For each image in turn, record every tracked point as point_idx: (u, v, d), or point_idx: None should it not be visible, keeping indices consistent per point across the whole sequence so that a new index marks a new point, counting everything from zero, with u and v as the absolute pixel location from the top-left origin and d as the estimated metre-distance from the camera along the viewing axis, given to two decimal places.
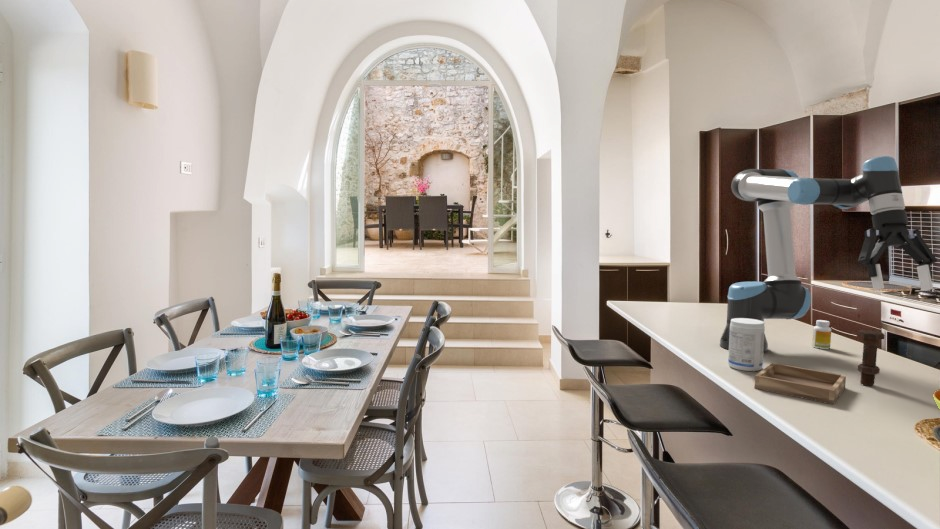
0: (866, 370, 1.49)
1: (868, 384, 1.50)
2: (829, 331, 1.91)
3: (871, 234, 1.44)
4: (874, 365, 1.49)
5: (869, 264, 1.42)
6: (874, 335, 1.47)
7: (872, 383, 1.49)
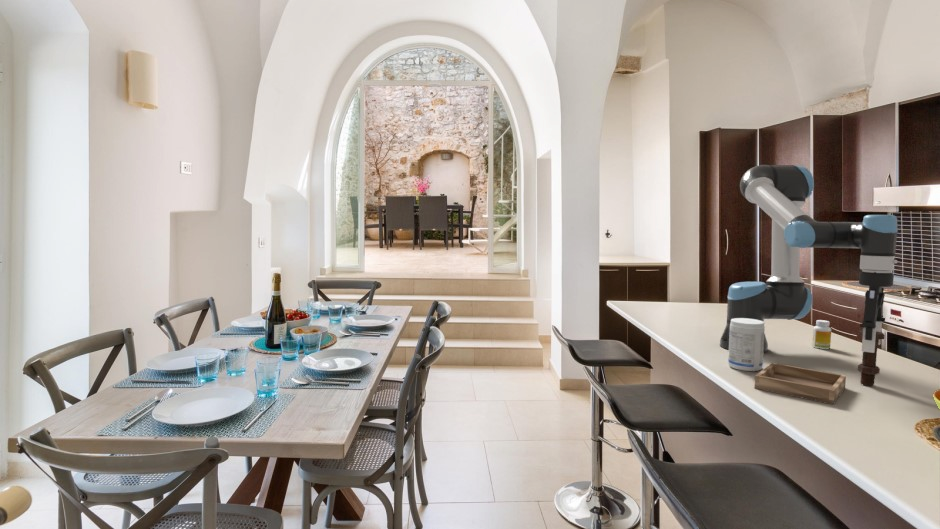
0: (866, 370, 1.49)
1: (868, 384, 1.50)
2: (829, 331, 1.91)
3: (876, 297, 1.43)
4: (874, 365, 1.49)
5: (870, 328, 1.43)
6: None
7: (872, 383, 1.49)
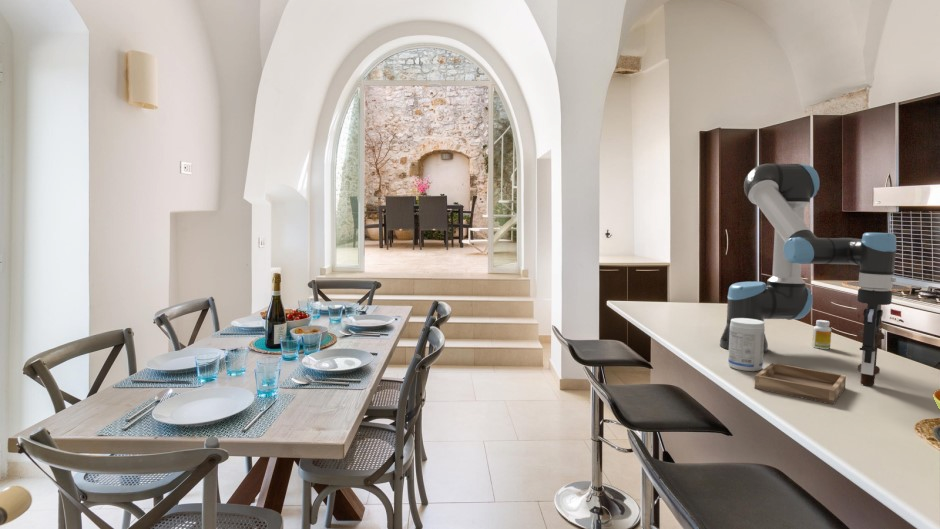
0: None
1: (868, 384, 1.50)
2: (829, 331, 1.91)
3: (874, 322, 1.44)
4: (874, 365, 1.49)
5: (869, 351, 1.47)
6: None
7: (872, 383, 1.49)
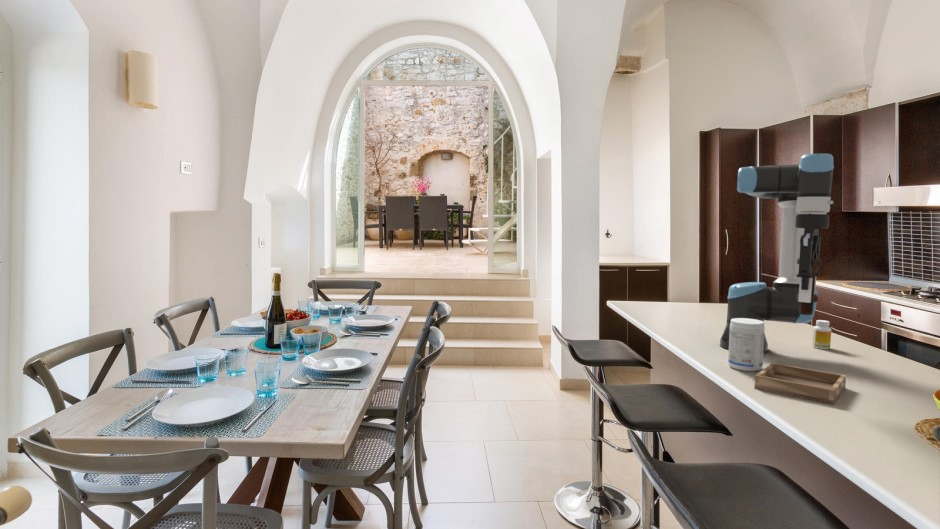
0: None
1: (806, 313, 1.44)
2: (829, 331, 1.91)
3: (809, 245, 1.38)
4: (812, 293, 1.43)
5: (806, 277, 1.41)
6: None
7: (810, 312, 1.44)
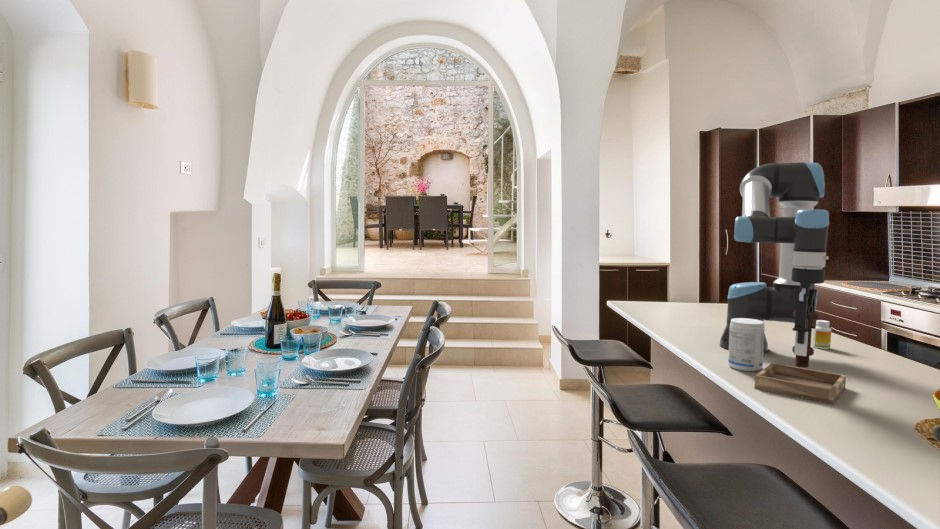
0: None
1: (802, 366, 1.45)
2: (829, 331, 1.91)
3: (805, 301, 1.40)
4: (808, 346, 1.45)
5: (802, 332, 1.42)
6: None
7: (806, 365, 1.45)
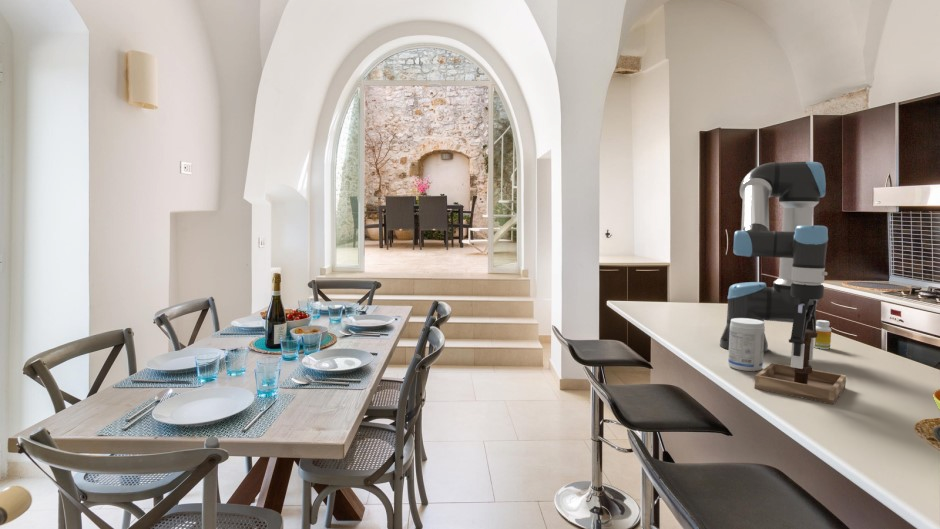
0: (798, 369, 1.45)
1: None
2: (829, 331, 1.91)
3: (804, 312, 1.39)
4: (807, 364, 1.45)
5: (798, 344, 1.40)
6: (806, 333, 1.43)
7: (805, 383, 1.45)
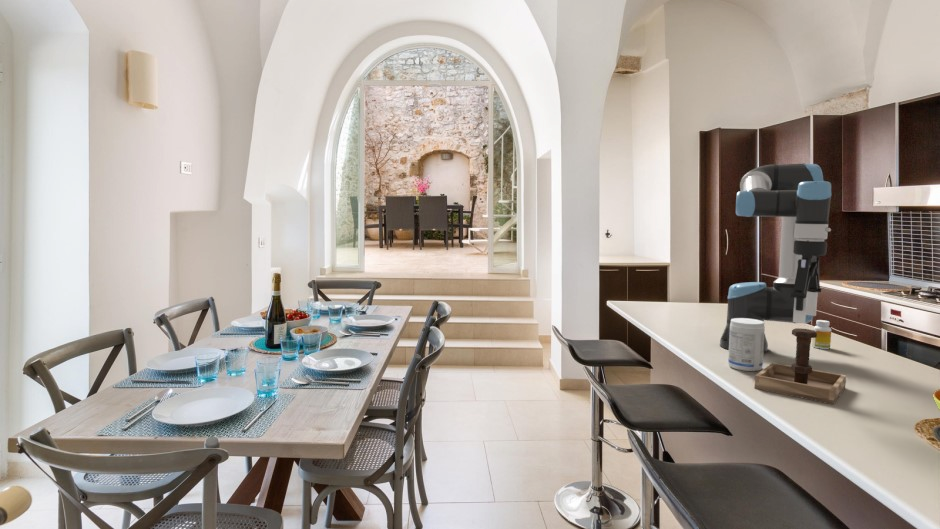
0: (798, 369, 1.45)
1: None
2: (829, 331, 1.91)
3: (807, 266, 1.38)
4: (807, 364, 1.45)
5: (801, 298, 1.38)
6: (806, 333, 1.43)
7: (805, 383, 1.45)
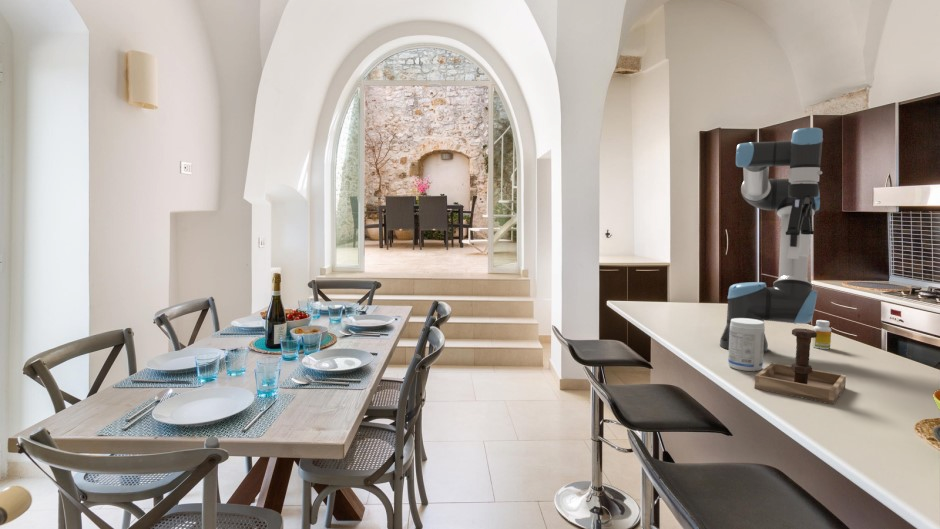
0: (798, 369, 1.45)
1: None
2: (829, 331, 1.91)
3: (800, 206, 1.50)
4: (807, 364, 1.45)
5: (794, 235, 1.50)
6: (806, 333, 1.43)
7: (805, 383, 1.45)
